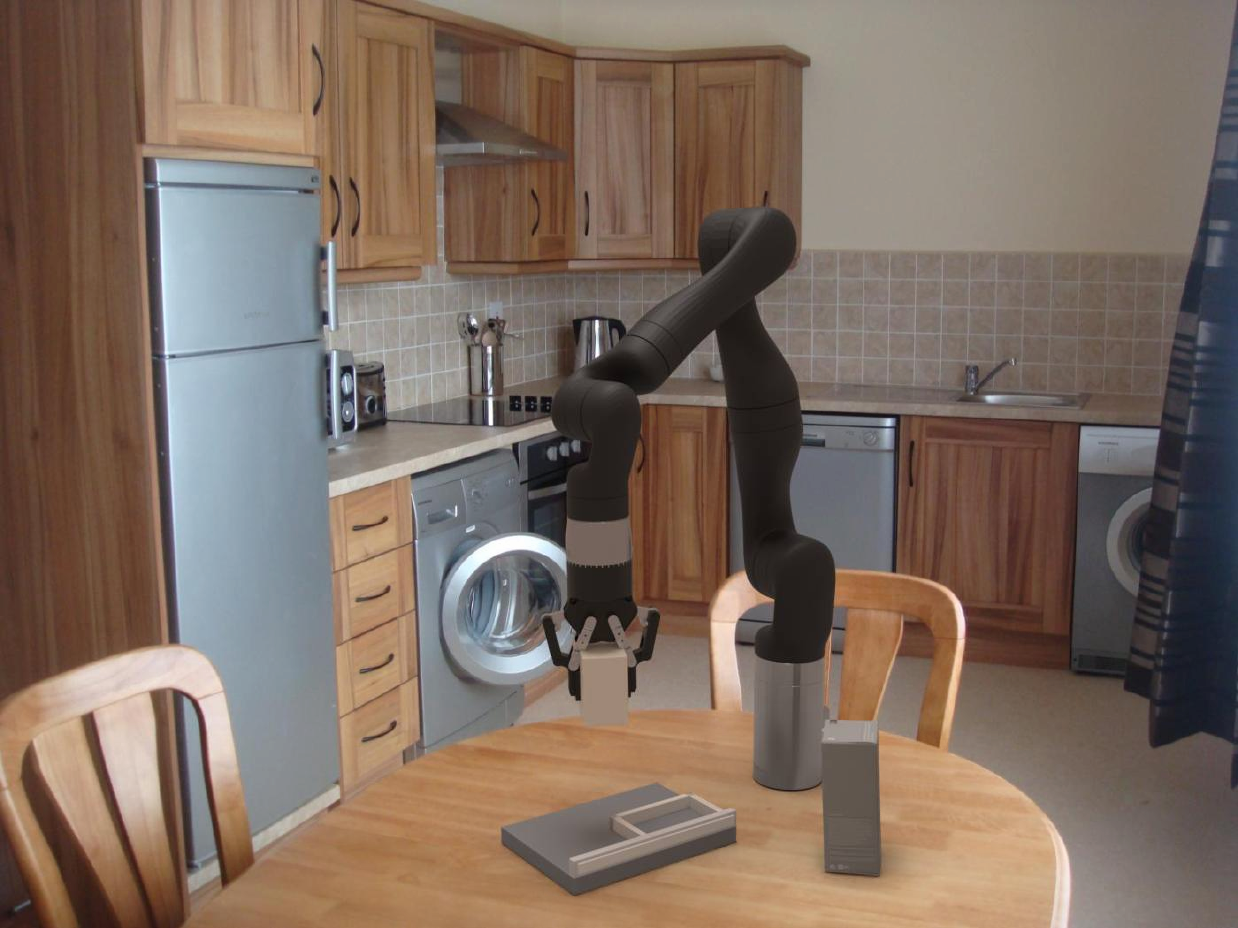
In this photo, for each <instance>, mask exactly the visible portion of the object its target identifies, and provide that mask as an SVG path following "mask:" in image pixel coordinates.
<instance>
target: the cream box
mask: <svg viewBox="0 0 1238 928" xmlns="http://www.w3.org/2000/svg"><path fill="white" fill-rule="evenodd" d="M579 669H580V681H581V701H576V702H577V705H578V708H579V713H580V717H581V719H582V723H583V727H584V728H595V727H596V728H597V727H610V726H620V725H621V726H622V725H623V726H624V725H629V698H628V666H627V655H626V653H625V650H624V649H620V648H619V646H618V643H617V641H616V640H615V642H605V641H600V642H597V643H588V645H587V648H586V651H580V665H579Z"/></svg>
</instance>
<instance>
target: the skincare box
mask: <svg viewBox="0 0 1238 928" xmlns="http://www.w3.org/2000/svg"><path fill="white" fill-rule="evenodd" d="M879 726H880V725H879V721H878V720H855V719H854V720H852V719H851V720H849V719H829V720H825V724H824V728H823V729H822V732H823V735H822V741H821V756H822V781H821V786H822V787H821V788H822V789H821V791H822V826H823V827H822V828H823V846H824V847H823V852H824V870H825V872H829V873H830V872H831V873H846V874H859V875H868V876H877V877H879V876H880V875H881V867H882V834H881V833H882V831H881V829H882V827H881V799H880V798H881V797H880V794H881V793H880V743H879V742H880V736H879V735H880V728H879Z"/></svg>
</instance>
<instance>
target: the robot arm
mask: <svg viewBox="0 0 1238 928" xmlns="http://www.w3.org/2000/svg"><path fill="white" fill-rule="evenodd" d="M797 242H798V241H797V233H796V230H795V226H794V224H793V222H792V220H791V218H790V217H789V216H788V215H787V214H786V213H785V212H783V210H780V209H778V208H776V207H770V206H763V205H762V206H759V205H758V206H750V207H737V208H726V209H725V208H723V209H717V210H714V211H711V212H710V213H709V214H707V215H706V217H705V218H704V219H703V220H702V223H701V224H700V227H699V229H698V235H697V247H696V249H697V258H698V264H699V269H700V273H701V274H700V275H701V277H699V278H698V279H696V280H695V281H693V282H692V283H690V284H688V285H687V286H686V287H683V288H682V289H680V290H678V291H677V292H675V293H673V294H672V295H670V296H668V297H667V298H665V299H663V300H662V301H661V302H659V303H657V304H656V305H655V306H653V307H652V308H651V309H649V310H648V311H647V312H645V313H644V315H643V316H642V317H641V318H640V319H638V320H637V321H636V322H635V323H634V324H633V325H632V327H631V328H630V329H629V330H628V331H627V332H626V333H625V334H624V335H623V336H622V337H621V338H620V339H619V341H618V342H617V343H616V344H615V345H614V346H613V347H611V348H610V349H608V350H607V351H605V352H603V353H601V354H599V355H598V356H597V357H595V358H594V359H592V360H590V361H589V362H587V363H586V364H584V365H583V366H581V367H579V368H578V369H577V370H575V372H573V373H572V374H571V375H569V376H568V377H567V378H565V380H564V381H563V382H562V383H561V384H560V386H559V387H558V389H557V390H556V392H555V394H554V396H553V398H552V401H551V407H550V418H551V423H552V424H553V427H554V428H555V430H556V431H557V432H558V433H559V434H560V435H561V436H564V437H565V438H567V439H570V440H574V441H575V440H576V441H580V442H585V443H586V442H587V443H591V448H590V453H589V458H588V460H587V461H586V462H581V463H577V464H576V465H573V466H572V467H571V468H570V469H569V471H568V473H567V475H566V527H565V529H566V530H565V566H566V567H565V568H566V569H565V570H566V602H565V604H564V606H563V609H562V610H561V609H560V610H558V611H557V610H556V611H553V612H549V611H543V612H542V613H540V614H541V615H540V619H541V624H542V628H543V631H544V635H545V638H546V643H547V646H548V651H549V654H550V657H551V661H552V664H553V665H554V667H562V668H565V669H566V670H567V689H568V692H569V695H570V697H574V700H575V702H577V701H581V681H580V669H579V665H580V651H586V648H587V645H588V643H597V642H600V641H605V642H615V640H616V641H617V643H618V646H619V648H620V649H624V650H625V653H626V655H627V666H628V699H629V698H631V697H632V693H635V692H636V690H637V666H638V665H639V664H640V663H642V662H648V661H651V660H652V657H653V653H654V649H655V648H654V647H655V644H656V638H657V633H658V629H659V625H660V622H661V621H660V619H661V613H660V612H659V610H658V608H657V607H656V605H650V606H648V607H646V606H645V607H644V606H640V605H637V603H636V601H635V600H634V593H633V592H634V591H633V589H634V588H633V587H634V586H633V585H634V584H633V581H634V579H633V553H634V546H633V540H632V539H633V536H632V529H631V521H630V502H629V501H630V500H629V499H630V495H629V493H630V492H629V490H630V489H629V488H630V487H629V481H630V475H631V470H632V469H633V465H634V464H633V463H634V460H635V456H636V452H637V448H638V444H639V443H638V442H639V440H640V435H641V431H642V430H641V429H642V425H643V424H642V422H643V415H642V407H641V404H640V400H639V398H638V396H642V395H643V396H645V395H649V394H652V393H653V392H655V391H657V390H658V389H659V388H660V387H661V386H662V385H663V384H664V383H665V382H666V381H667V380H668V378H669V377H671V375H672V374H673V373H674V372H675V371H676V370H677V369H678V367H679V366H680V365H682V363H683V362H684V361H685V360H686V359H687V358H688V356H689V355H690V354H691V353H692V352H693V351H694V350H695V349H696V348H697V347H698V346H699V345H700V343H702V342H703V341H704V340H705V339H707V338H708V336H709V335H710V334H712V333H713V332H715V336H716V342H717V347H718V353H719V358H720V359H719V360H720V363H721V364H720V365H721V371H722V377H723V383H724V391H725V393H724V394H725V400H726V401H725V402H726V408H727V416H728V422H729V429H730V434H731V441H732V446H733V452H734V459H735V468H736V474H737V475H736V476H737V483H738V488H739V495H740V505H741V506H740V507H741V528H742V529H741V530H742V531H741V533H742V553H743V565H744V571H745V574H746V575H745V576H746V577H747V580H748V582H749V583H750V585H751V587H752V588H753V589H754V590H755V591H756V592H758V593H759V594H761V595H762V596H765V597H767V598H770V599H772V600H773V615H772V623H771V624H766V625H764V626H762V627H760V628H759V629H758V630H757V631H756V633H755V636H754V665H753V666H754V668H753V669H754V670H753V671H754V673H753V675H754V681H753V682H754V683H753V684H754V685H753V688H754V689H753V748H752V749H753V760H752V762H753V763H752V764H753V765H752V766H753V767H752V769H753V770H752V777H753V779H754V780H755V781H756V782H757V783H759V784H761V785H763V786H764V787H768V788H772V789H776V790H784V791H799V790H801V791H802V790H806V789H810V788H813V787H815V786H818V785H820V784H821V783H822V756H821V741H822V735H823V732H822V729H823V728H824V724H825V720H831V719H830V717H831V715H830V713H831V712H830V708H829V707H828V706H827V705H825V693H826V692H825V687H826V686H825V685H826V683H825V682H826V646H827V643H828V640H829V638H830V635H831V632H832V630H833V628H832V627H833V621H834V608H835V597H836V596H835V595H836V565H835V560H834V556H833V554H832V551H831V549H830V548H829V547H828V546H827V545H826V544H825V543H824V542H822V541H820V540H819V539H816V538H813V537H810V536H807V535H804V534H802V533H798V532H797V528H796V525H795V521H794V517H793V510H792V503H791V502H792V501H791V492H790V491H791V482H792V480H791V479H792V477H793V472H794V470H795V466H796V464H797V460H798V458H799V455H800V451H801V447H802V443H803V437H804V421H803V414H802V413H803V412H802V406H801V399H800V398H801V397H800V390H799V386H798V382H797V378H796V376H795V374H794V372H793V370H792V367H791V366H790V365H789V363H788V361H787V360H786V358H785V357H784V355H783V353H782V352H781V351H780V349H779V347H778V346H777V344H776V343H775V341H774V340H773V338H772V337H771V335H770V334H769V332H768V330H767V328H766V327H765V325H764V323H763V321H762V319H761V316H760V313H759V310H758V306H757V301H756V296H758V295H759V294H760V293H761V292H763V291H765V290H766V289H767V288H769V287H770V286H771V285H773V283H775V282H777V280H779V279H780V278H781V277H782V276H783V275H784V274H785V273H786V272H787V271H788V270H789V268H790V267H791V265H792V263H793V261H794V259H795V257H796V256H795V255H796V253H797ZM636 617H638V618H639V623H640V625H641V626H642V627H643V629H642V632H641V636H640V641H639V646H638V647H637V648H635V649H632V647H631V644H630V643H629V640H628V637H627V636H626V633H625V632H626V631H627V629H628V628H629V627H630V625H631V624H632V622H633V621H634V619H635V618H636ZM564 621H566V622H567V623H568V624H569V626H570V627H571V628H572V629H573V631H574V632H575V633H574V635H573V638H572V639H571V646H570V648H569V651H568V652H567V653H566V652H562V650H561V646H560V642H559V639H558V636H557V632H560V631H561V629H562V622H564Z"/></svg>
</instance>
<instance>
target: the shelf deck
mask: <svg viewBox="0 0 1238 928" xmlns="http://www.w3.org/2000/svg"><path fill="white" fill-rule="evenodd" d="M500 831H501V833H500V834H501V839H500V840H501V844H502V845H504V846H505V847H506V848H508V849H509V850H511V851H512V852H513V853H515V854H516V855H517V856H519V857H520V858H522V859H523V860H524V861H526V862H527V863H529V864H530V865H532V866H533V867H534V868H536V870H538V871H539V872H541V873H542V874H544V875H545V876H547V877H548V878H549V879H551V880H552V881H553V882H554V883H556V884H557V885H559V886H560V887H562V888H563V889H564V890H566V891H567V892H568V893H570V894H571V895H572V896H574V897H575V896H577V895H580V894H584V893H586V892H590V891H592V890H596V889H598V888H602V887H604V886H605V887H606V886H608V885H611V884H613V883H616V882H620V881H622V880H623V881H624V880H625V879H629V878H632V877H635V876H638V875H641V874H644V873H647V872H651V871H654V870H656V869H659V868H662V867H665V866H668V865H671V864H674V863H677V862H680V861H683V860H685V859H689V858H692V857H695V856H699V855H701V854H704V853H707V852H710V851H714V850H716V849H719V848H722V847H725V846H728V845H732V844H734V843H737V810H736V809H734V808H733V807H729V808H726V809H722V808H721V807H719V806H716V805H715V804H713V803H711V802H709V801H708V800H705V799H703V798H702V797H700V796H699V795H696V794H694V793H693V792H687V793H683V794H678V793H677V792H675V791H673V790H671V789H669V788H668V787H666V786H664V785H663V784H660V783H659V782H658V781H657V782H653V783H649V784H647V785H643V786H639V787H637V788H636V787H635V788H633V789H632V788H631V789H629V790H626V791H622V792H619V793H615V794H611V795H608V796H604V797H601V798H598V799H595V800H591V801H588V802H584V803H580V804H577V805H576V804H575V805H574V806H570V807H569V806H568V807H566V808H563V809H558V810H555V811H553V812H549V813H546V814H543V815H539V816H535V817H532V818H529V819H525V820H521V821H518V822H515V823H510V824H508V825H505V826H501V829H500Z"/></svg>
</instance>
